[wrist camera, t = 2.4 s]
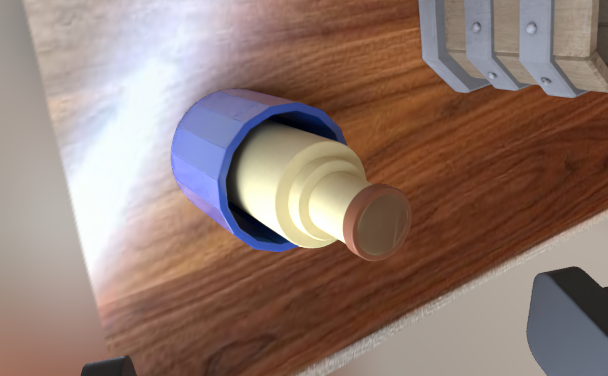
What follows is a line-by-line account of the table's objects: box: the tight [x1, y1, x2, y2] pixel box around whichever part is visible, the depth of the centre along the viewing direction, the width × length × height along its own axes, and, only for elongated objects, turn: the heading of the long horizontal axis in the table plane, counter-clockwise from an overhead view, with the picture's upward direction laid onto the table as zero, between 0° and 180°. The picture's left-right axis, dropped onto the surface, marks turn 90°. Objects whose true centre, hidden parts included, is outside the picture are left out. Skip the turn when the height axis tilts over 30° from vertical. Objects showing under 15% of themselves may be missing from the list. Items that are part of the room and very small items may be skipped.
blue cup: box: [171, 89, 347, 252], centre depth 35 cm, size 9×9×8 cm
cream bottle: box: [225, 119, 412, 261], centre depth 31 cm, size 6×6×16 cm
